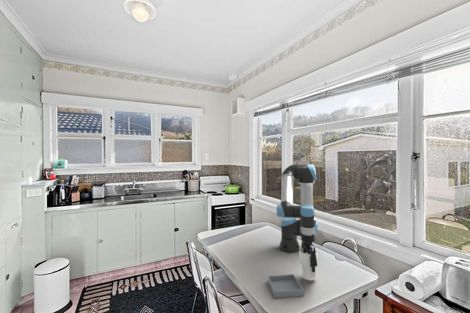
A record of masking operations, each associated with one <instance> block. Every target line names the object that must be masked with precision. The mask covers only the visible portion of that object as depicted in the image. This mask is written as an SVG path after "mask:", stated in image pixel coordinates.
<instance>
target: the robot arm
mask: <svg viewBox="0 0 470 313" xmlns="http://www.w3.org/2000/svg"><path fill="white" fill-rule="evenodd" d="M280 179H281V182H282V183H281V191H280V192H281V194H280V195H281V196H280V204H277V205H276V215H277V217H278V218H282V219H281V220H280V222H281V223H280V228H281V233H280V234H281V239H280V241H279V249H280V251H282V252H285V253H297V252H299V251H300V249H301V248H303V253H308V254H311V257H310V264H311V265H310V277H311V278H312V277H316V278H317V275H316V267H318V263H317V260H316V253H315V250H316V247H315V246H314V245H313V242H315V240H316V237H317V234H318V227H319V226H318V224H319V222H318V221H317V220H316V217H315V209H314V194H313V193H314V192H313V185H314V184H315V181H317V173H316V167H315V165H314V164H309V163H307V164H291V165H289V166H287V167H286V168H285V169H283V172H282V173H281V177H280ZM294 181H298V184H299V186H300V205H294V204H293V198H294V197H293V196H294V195H293V194H294V193H293V192H294V191H293V190H294ZM298 237H300V239H301V246H300V243H299V241H298ZM315 266H316V267H315Z"/></svg>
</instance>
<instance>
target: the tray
mask: <svg viewBox="0 0 470 313" xmlns="http://www.w3.org/2000/svg"><path fill="white" fill-rule="evenodd" d="M267 284H268V286H269V288H270V291H271V293H272V296H273V298H274V299H281V298H291V297H304V296H305V290H304V288H303V286H302V285H301V283H300V282H299V279H297V276H296V275H295V274H290V273H289V274H279V275H278V274H276V275H267Z"/></svg>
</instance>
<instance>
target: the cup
mask: <svg viewBox="0 0 470 313" xmlns="http://www.w3.org/2000/svg"><path fill="white" fill-rule="evenodd" d="M298 252H299V253H298V259H299V263H300V264H301V268H302V270H301V271H302V272H301V277H302V278H303V279H304V280H307V281H315V280H317V276H316V277H312V278H311V277H310V265H311V264H310V257H311V254H308V253H303V248H301V247H300V250H299V251H298ZM315 253H316V260H317V264H318V262H319V254H318V251H317V250H316V249H315ZM316 267H317V266H315V268H316Z"/></svg>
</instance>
